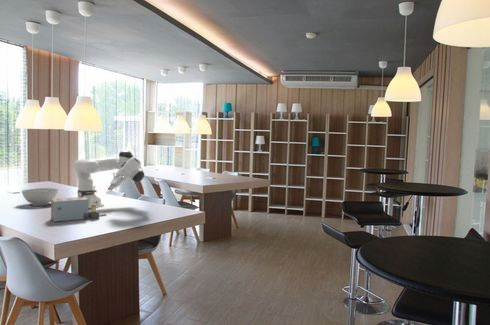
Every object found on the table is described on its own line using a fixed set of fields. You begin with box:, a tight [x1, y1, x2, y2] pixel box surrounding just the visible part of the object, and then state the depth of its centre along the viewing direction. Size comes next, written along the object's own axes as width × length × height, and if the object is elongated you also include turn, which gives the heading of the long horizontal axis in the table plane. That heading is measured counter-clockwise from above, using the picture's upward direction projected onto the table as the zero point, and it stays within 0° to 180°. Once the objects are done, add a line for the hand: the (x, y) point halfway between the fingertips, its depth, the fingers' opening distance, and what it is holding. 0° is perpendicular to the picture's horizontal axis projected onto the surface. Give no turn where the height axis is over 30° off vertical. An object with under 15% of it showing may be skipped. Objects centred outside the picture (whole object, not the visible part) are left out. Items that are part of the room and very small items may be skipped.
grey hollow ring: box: [83, 210, 100, 220], centre depth 273 cm, size 10×7×4 cm, turn 126°
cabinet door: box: [53, 199, 89, 222], centre depth 265 cm, size 22×3×14 cm, turn 126°
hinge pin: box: [90, 204, 97, 213], centre depth 274 cm, size 3×3×10 cm
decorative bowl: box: [21, 187, 59, 207], centre depth 322 cm, size 27×27×12 cm
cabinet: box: [50, 196, 87, 222], centre depth 270 cm, size 22×10×14 cm, turn 126°
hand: (109, 189), depth 280 cm, fingers open, 8 cm apart
